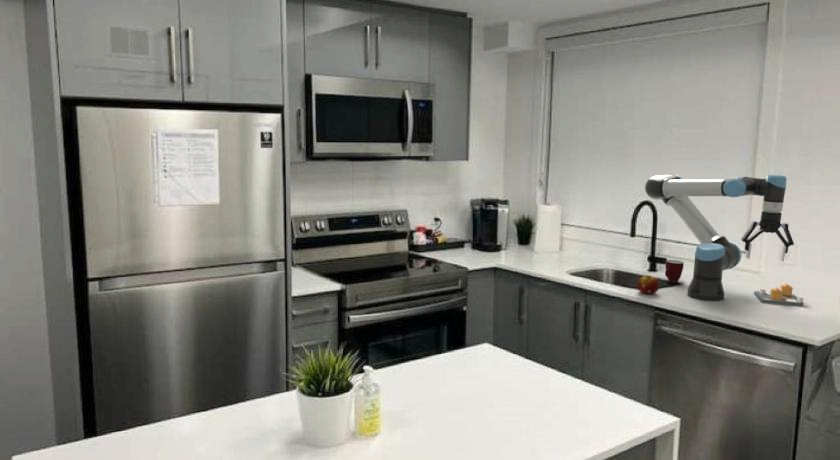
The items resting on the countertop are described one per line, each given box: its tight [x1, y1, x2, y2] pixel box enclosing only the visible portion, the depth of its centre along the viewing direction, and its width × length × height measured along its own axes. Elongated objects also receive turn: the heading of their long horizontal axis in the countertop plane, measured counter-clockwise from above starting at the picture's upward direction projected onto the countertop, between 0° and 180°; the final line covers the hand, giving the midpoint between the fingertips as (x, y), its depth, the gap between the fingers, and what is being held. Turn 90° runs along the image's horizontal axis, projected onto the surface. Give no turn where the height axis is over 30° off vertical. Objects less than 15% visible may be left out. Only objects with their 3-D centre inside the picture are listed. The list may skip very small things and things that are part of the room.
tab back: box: [779, 283, 794, 296], centre depth 270 cm, size 4×3×5 cm
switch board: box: [753, 287, 805, 307], centre depth 268 cm, size 16×14×4 cm
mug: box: [664, 259, 685, 283], centre depth 296 cm, size 10×8×10 cm
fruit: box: [636, 274, 660, 295], centre depth 275 cm, size 10×9×8 cm
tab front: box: [770, 287, 783, 300], centre depth 264 cm, size 4×3×5 cm
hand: (764, 259), depth 264 cm, fingers open, 13 cm apart
